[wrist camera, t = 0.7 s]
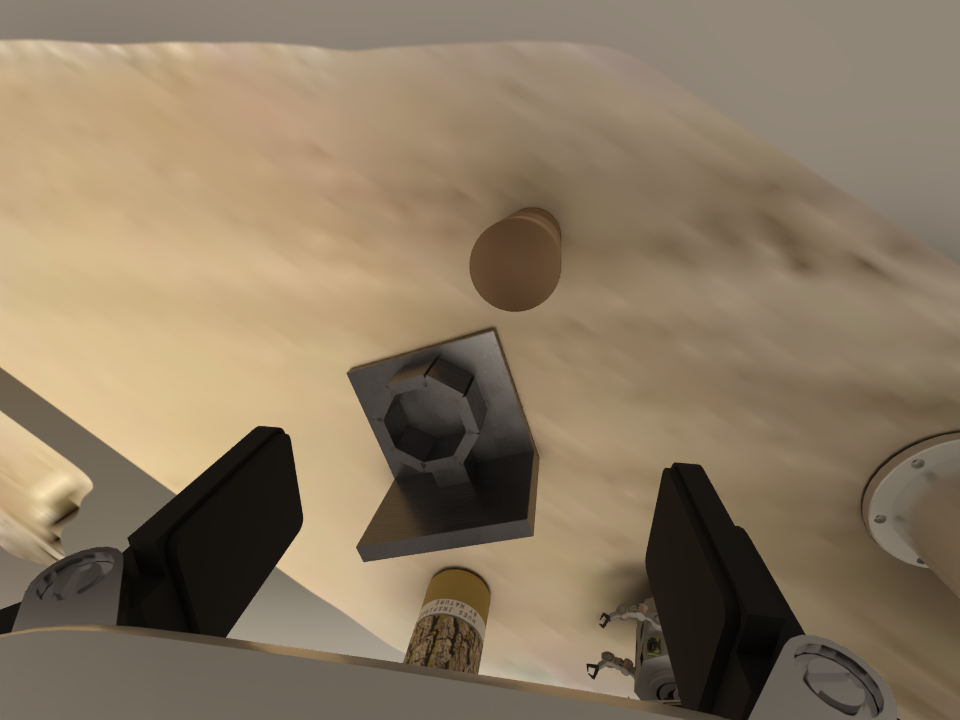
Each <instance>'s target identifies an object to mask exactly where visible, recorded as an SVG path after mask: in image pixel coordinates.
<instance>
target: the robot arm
mask: <svg viewBox="0 0 960 720" xmlns="http://www.w3.org/2000/svg"><path fill="white" fill-rule="evenodd" d="M862 514H863V519H864V523H865V526H866V528H867V530H868V531H869V533H870V534H871V536H872V537H873V538H874V539H875V541H876V542H877V543H878V544H879V545H880V546H881V547H882V548H883V549H884V550H885V551H887V552H888V553H889V554H891V555H892V556H893V557H895V558H897V559H899V560H901V561H903V562H905V563H908V564H911V565H914V566H918V567H923V568H929V569H931V570H932V571H933V572H934V573H935V574H936V575H937V576H938V577H939V578H940V579H941V580H942V581H943V582H944V583H945V584H946V585H947V586H948V588H949V589H950V590H951V591H952V592H953V593H954V594H955V595H956V596H957V597H958V598H959V599H960V432H959V433H953V434H948V435H942V436H939V437H935V438H932V439H929V440H926V441H923V442H921V443H919V444H916V445H914V446H912V447H910V448H908V449H906V450H904V451H903V452H901V453H900V454H898V455H897V456H895V457H894V458H892V459H891V460H890V461H889V462H888V463H887V464H885V465H884V466H883V467H882V468H881V469H880V470H879V471H878V473H877V474H876V475H875V476H874V478H873V479H872V480H871V482H870V484H869V486H868V488H867V490H866V492H865V495H864V499H863V504H862ZM302 523H303V512H302V506H301V500H300V494H299V488H298V482H297V475H296V469H295V463H294V457H293V451H292V445H291V439H290V436H289V435H288V434H285V432H284V430H283V429H282V428H278V427H266V426H258V427H256V428H255V429H253V430H252V431H251V432H250V433H249V434H248V435H246V436H245V437H244V438H243V439H242V440H241V441H239V442H238V443H237V444H236V445H235V446H234V447H232V448H231V449H230V450H229V451H228V452H227V453H226V454H224V455H223V456H222V457H221V458H220V459H219V460H217V461H216V462H215V463H214V464H213V465H212V466H210V467H209V468H208V469H207V470H206V471H205V472H203V473H202V474H201V475H200V476H199V477H198V478H196V479H195V480H194V481H193V482H192V483H191V484H189V485H188V486H187V487H186V488H185V489H184V490H183V491H181V492H180V493H179V494H178V495H177V496H176V497H174V498H173V499H172V500H171V501H170V502H169V503H167V504H166V505H165V506H164V507H163V508H162V509H160V510H159V511H158V512H157V513H156V514H155V515H154V516H152V517H151V518H150V519H149V520H148V521H146V522H145V523H144V524H143V525H142V526H141V527H140V528H139V529H137V530H136V531H135V532H134V533H133V534H131V535H130V536H129V537H128V541H129V544H130V546H129V547H128V548H127V549H126V550H125V551H124V552H123V553H121V551H119V550H118V549H117V548H112V547H95V548H91V549H87V550H82V551H80V552H77V553H74V554H72V555H69V556H67V557H65V558H63V559H61V560H59V561H57V562H56V563H54V564H52V565H51V566H49V567H48V568H47V569H45V570H44V571H42V572H41V573H40V574H39V575H38V576H37V577H36V578H35V579H34V580H33V581H32V582H31V583H30V585H29V586H28V588H27V590H26V591H25V594H24V597H23V600H22V602H19V603H17V604H14V605H11V606H9V607H6V608H3V609H1V610H0V720H900V719H898V718H897V703H896V701H895V699H894V696H893V694H892V692H891V690H890V688H889V687H888V685H887V684H886V683H885V681H884V680H883V679H882V678H881V676H880V675H879V674H878V673H877V672H876V671H875V670H874V669H873V668H872V667H871V666H870V665H869V664H868V663H867V662H866V661H865V660H863V659H862V658H860V657H859V656H858V655H856V654H855V653H853V652H852V651H850V650H849V649H847V648H845V647H843V646H841V645H839V644H837V643H835V642H833V641H831V640H828V639H825V638H821V637H818V636H813V635H805V633H804V631H803V629H802V628H801V626H800V624H799V622H798V621H797V619H796V617H795V615H794V614H793V612H792V610H791V609H790V607H789V605H788V603H787V602H786V600H785V598H784V596H783V595H782V593H781V591H780V589H779V588H778V586H777V584H776V582H775V581H774V579H773V577H772V576H771V574H770V572H769V570H768V569H767V567H766V565H765V563H764V562H763V560H762V558H761V556H760V555H759V553H758V551H757V550H756V548H755V546H754V544H753V543H752V541H751V539H750V537H749V536H748V534H747V533H746V531H745V530H744V529H743V528H741V527H739V526H735V525H734V523H733V522H732V520H731V518H730V516H729V514H728V513H727V511H726V509H725V507H724V505H723V504H722V502H721V500H720V498H719V496H718V495H717V493H716V491H715V489H714V487H713V485H712V484H711V482H710V480H709V478H708V476H707V475H706V473H705V471H704V469H703V468H702V466H701V465H698V464H687V463H676V462H675V463H673V465H672V467H671V468H665V469H664V470H663V473H662V478H661V483H660V488H659V493H658V498H657V503H656V508H655V512H654V517H653V522H652V527H651V532H650V537H649V542H648V547H647V551H646V560H645V561H646V571H647V575H648V579H649V583H650V587H651V590H652V594H653V598H654V602H655V606H656V609H657V613H658V617H659V621H660V624H661V628H662V632H663V636H664V640H665V643H666V647H667V651H668V655H669V659H670V662H671V666H672V670H673V674H674V678H675V681H676V685H677V689H678V693H679V697H680V700H681V704H682V708H680V707H675V706H671V705H665V704H659V703H653V702H647V701H642V700H636V699H630V698H624V697H618V696H612V695H607V694H601V693H595V692H589V691H583V690H576V689H570V688H563V687H557V686H550V685H544V684H537V683H531V682H524V681H518V680H511V679H504V678H498V677H491V676H485V675H478V674H472V673H465V672H459V671H452V670H445V669H438V668H432V667H425V666H418V665H411V664H405V663H398V662H391V661H384V660H377V659H370V658H364V657H357V656H349V655H343V654H336V653H329V652H322V651H315V650H308V649H301V648H294V647H286V646H280V645H273V644H265V643H258V642H251V641H243V640H237V639H230V638H226V636H227V635H228V633H229V632H230V630H231V629H232V628H233V626H234V625H235V623H236V622H237V620H238V619H239V618H240V616H241V615H242V613H243V612H244V610H245V609H246V608H247V606H248V605H249V603H250V602H251V600H252V599H253V597H254V596H255V595H256V593H257V592H258V590H259V589H260V587H261V586H262V584H263V583H264V581H265V580H266V579H267V577H268V576H269V574H270V573H271V572H272V570H273V569H274V567H275V566H276V564H277V563H278V561H279V560H280V559H281V557H282V556H283V554H284V553H285V551H286V550H287V548H288V547H289V546H290V544H291V543H292V541H293V540H294V538H295V537H296V536H297V534H298V533H299V531H300V529H301V527H302Z"/></svg>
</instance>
